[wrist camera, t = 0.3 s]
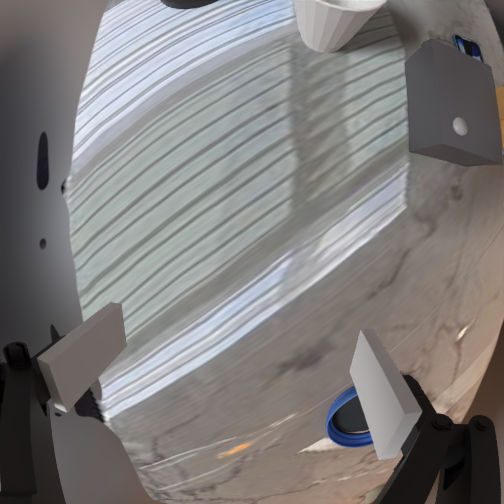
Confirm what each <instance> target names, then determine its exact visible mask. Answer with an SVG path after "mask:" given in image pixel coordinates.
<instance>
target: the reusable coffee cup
mask: <svg viewBox="0 0 504 504" xmlns="http://www.w3.org/2000/svg"><path fill="white" fill-rule="evenodd" d="M383 487H384V486H381V487H378V488H375V489H373V490H371V491H370V492H368V493H367V494H366V496H365V497H366V504H372V503H373V502H374V501H375V499H376V498H377V496H378V495H379V493H380V492H381V490H382V489H383Z"/></svg>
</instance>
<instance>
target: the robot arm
mask: <svg viewBox="0 0 504 504" xmlns="http://www.w3.org/2000/svg"><path fill="white" fill-rule="evenodd" d="M160 1H161V2H162V3H163V4H165V5H166V6H168V7H171V8H176V9H190V8H196V7H201V6H204V5H207V4H210V3H213V2H215V1H217V0H160ZM126 346H127V343H126V336H125V329H124V321H123V312H122V304H118V303H112V302H110V303H109V304H108V305H106V306H105V307H103V308H102V309H101V310H99V311H98V312H97V313H95V314H94V315H93V316H91V317H90V318H89V319H87V320H86V321H85V322H83V323H82V324H81V325H79V326H78V327H77V328H75V329H74V330H73V331H71V332H70V333H69V334H67V335H65V336H62V337H59V338H57V339H56V340H54V341H53V342H52V343H51V344H49V345H48V346H47V347H46V348H44V349H43V350H41V351H40V352H39V353H38V354H36V355H35V356H34V357H32V358H30V355H29V352H28V349H27V345H25V343H22V342H13V343H10V344H8V345H6V346H5V347H4V349H3V352H4V355H5V358H6V361H7V363H3V362H2V361H1V359H0V479H1V480H0V481H1V492H0V504H66V502H65V499H64V495H63V491H62V487H61V483H60V479H59V474H58V469H57V464H56V459H55V453H54V446H53V439H52V430H51V421H50V409H49V405H48V403H47V401H48V400H49V399H50V398H52V401H53V403H54V405H55V407H56V408H59V409H60V410H62V411H65V412H68V411H69V410H70V409H71V407H72V406H73V405H74V404H75V403H76V402H77V401H78V399H79V398H80V397H81V396H82V395H83V394H84V393H85V392H86V390H87V389H88V388H89V387H90V386H91V385H92V384H93V382H94V381H95V380H96V379H97V378H98V377H99V376H100V375H101V374H102V372H103V371H104V370H105V369H106V368H107V367H108V366H109V365H110V363H111V362H112V361H113V360H114V359H115V358H116V357H117V356H118V355H119V354H120V352H121V351H122V350H123V349H124V348H125V347H126ZM350 374H351V377H352V380H353V382H354V385H355V388H356V391H357V394H358V397H359V400H360V403H361V406H362V409H363V412H364V415H365V418H366V421H367V424H368V427H369V430H370V433H371V437H372V440H373V443H374V446H375V450H376V453H377V456H378V460H383V459H389V458H395V457H396V455H397V454H398V452H399V451H400V449H401V450H402V453H403V455H404V456H403V457H402V458H401V460H400V461H399V463H398V464H397V466H396V467H395V468H394V472H393V473H392V475H391V477H390V478H389V480H388V481H387V483H386V484H385V486H384V487H383V489H382V490H381V492H380V493H379V495H378V496H377V498H376V499H375V501H374V502H373V503H372V504H424V503H425V502H426V500H427V497H428V495H429V493H430V491H431V489H432V487H433V484H434V482H435V480H436V478H437V475H438V473H439V470H440V476H439V483H438V490H437V497H436V503H435V504H501V483H500V467H499V456H498V447H497V440H496V433H495V427H494V424H493V422H492V421H491V420H490V419H489V418H488V417H486V416H482V415H476V416H474V417H472V418H471V420H470V421H469V423H468V424H454V423H453V421H452V420H451V419H450V418H449V417H448V416H446V415H444V414H439V413H436V411H435V409H434V408H433V406H432V404H431V403H430V401H429V400H428V398H427V396H426V395H425V393H424V391H423V390H422V389H421V387H420V385H419V383H418V382H417V381H416V380H415V379H414V378H412V377H411V376H410V375H403V376H402V375H401V373H400V371H399V370H398V368H397V366H396V365H395V363H394V361H393V360H392V358H391V356H390V355H389V353H388V352H387V350H386V348H385V347H384V345H383V343H382V342H381V340H380V339H379V337H378V336H377V334H376V332H375V331H374V329H361V330H360V334H359V338H358V342H357V346H356V350H355V353H354V357H353V361H352V364H351V368H350Z"/></svg>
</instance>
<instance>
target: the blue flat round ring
mask: <svg viewBox="0 0 504 504" xmlns="http://www.w3.org/2000/svg"><path fill="white" fill-rule="evenodd" d="M368 429H369V427H368V424H367V421H366V418H365V415H364V412H363V409H362V406H361V403H360V400H359V397H358V394H357V391H356V388H355V386H353V387H352V388H350V389H348V390H347V391H345V392H344V393H343V394H341V395H340V396H339V397H338V398H337V399H336V400H335V402H334V403H333V404H332V406H331V408H330V410H329V412H328V417H327V420H326V432H327V435H328V437H329V438H330V439H331V440H332V441H333V442H334V443H336V444H338V445H340V446H343V447H349V448H357V447H364V446H369V445H372V444H374V443H373V440H372V437H371V433H370V431H368V432H364V433H347V432H358V431H364V430H368ZM342 430H343V431H342ZM344 431H347V432H344Z"/></svg>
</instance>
